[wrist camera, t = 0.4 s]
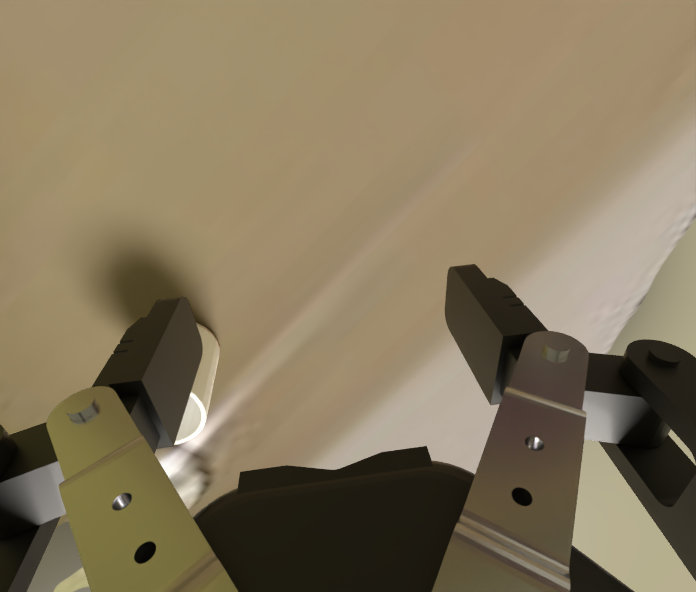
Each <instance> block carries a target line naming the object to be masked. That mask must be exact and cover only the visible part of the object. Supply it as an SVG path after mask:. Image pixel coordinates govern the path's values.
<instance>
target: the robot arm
mask: <svg viewBox="0 0 696 592" xmlns="http://www.w3.org/2000/svg"><path fill="white" fill-rule="evenodd" d="M445 318H446V322H447V326H448V328H449V330H450V332H451V334H452V336H453V337H454V339H455V341H456V343H457V345H458V347H459V348H460V350H461V352H462V354H463V356H464V358H465V359H466V361H467V363H468V365H469V367H470V369H471V370H472V372H473V374H474V376H475V378H476V380H477V381H478V383H479V385H480V387H481V389H482V391H483V392H484V394H485V396H486V398H487V400H488V402H489V403H490V405H496V404H500V405H499V408H498V411H497V414H496V417H495V420H494V423H493V425H492V428H491V431H490V434H489V437H488V440H487V443H486V445H485V448H484V451H483V454H482V457H481V460H480V463H479V465H478V468H477V471H476V474H473V473H471V472H469V471H467V470H465V469H463V468H460V467H457V466H454V465H451V464H448V463H443V462H438V461H431V458H430V455H429V452H428V449H427V446H424V447H417V448H409V449H402V450H395V451H388V452H381V453H379V454H376V455H374V456H371V457H369V458H366V459H363V460H361V461H358V462H356V463H353V464H351V465H348V466H346V467H343V468H341V469H337V470H326V469H316V468H307V467H297V466H280V467H272V468H265V469H258V470H251V471H244V472H240V477H239V484H238V488H237V489H234V490H232V491H230V492H228V493H226V494H224V495H222V496H220V497H219V498H217V499H216V500H214V501H213V502H211V503H209V504H208V505H207V506H206V507H204V508H203V509H202V510H201V511H199V512H198V513H197V514H196V515H195V516H194V517H192V516H191V514H190V512H189V511H188V509H187V508H186V506H185V504H184V503H183V501H182V499H181V498H180V496H179V494H178V493H177V491H176V489H175V488H174V486H173V484H172V483H171V481H170V479H169V478H168V476H167V474H166V473H165V471H164V469H163V468H162V466H161V464H160V463H159V461H158V460H157V458H156V456H155V455H154V454H155V451H156V449H159V448H166V447H174V444H175V441H176V437H177V434H178V431H179V428H180V425H181V422H182V419H183V415H184V412H185V409H186V406H187V403H188V400H189V396H190V393H191V390H192V387H193V384H194V381H195V378H196V374H197V371H198V368H199V365H200V362H201V359H202V353H203V346H202V340H201V336H200V333H199V330H198V327H197V324H196V321H195V319H194V316H193V313H192V310H191V307H190V304H189V302H188V300H187V298H186V297H175V298H167V299H159V300H157V301H156V302H155V304H154V306H153V308H152V309H151V311H150V313H149V315H148V316H147V317H145V318H140V319H139V320H138V321H137V322H136V323H134V324H133V325H132V326H131V327H130V328H128V329H127V331H126V332H125V334H124V336H123V337H122V339H121V340H120V344H118V345H117V347H116V349H115V350H114V354H112V355H111V357H110V358H109V360H108V361H107V363H106V365H105V366H104V368H103V370H102V371H101V373H100V374H99V376H98V378H97V379H96V381H95V382H94V384H93V386H92V387H91V388H87V389H84V390H81V391H79V392H77V393H75V394H73V395H71V396H69V397H68V398H66V399H65V400H63V401H62V402H61V403H60V404H58V405H57V406H56V407H55V408H54V410H53V411H52V412H51V413H50V415H49V417H48V419H47V422H46V423H43V424H40V425H37V426H34V427H31V428H28V429H26V430H23V431H20V432H17V433H14V434H11V435H9V434H8V433H7V432H6V431H5V429H4V428H3V427H2V426H1V425H0V592H27V589H28V587H29V585H30V583H31V581H32V578H33V576H34V574H35V572H36V570H37V567H38V565H39V563H40V561H41V559H42V556H43V554H44V552H45V550H46V548H47V545H48V543H49V541H50V539H51V537H52V534H53V532H54V530H55V528H56V526H57V523H58V521H59V519H60V517H61V516H62V515H64V514H67V517H68V520H69V524H70V526H71V530H72V533H73V536H74V539H75V543H76V545H77V549H78V552H79V555H80V558H81V561H82V565H83V568H84V571H85V574H86V577H87V580H88V584H89V587H90V590H91V592H634V591H633V590H631V589H630V588H629V587H627V586H626V585H625V584H623V583H622V582H621V581H619V580H618V579H617V578H615V577H614V576H613V575H611V574H610V573H609V572H607V571H606V570H604V569H603V568H602V567H601V566H599V565H598V564H596V563H595V562H594V561H592V560H591V559H590V558H588V557H587V556H586V555H584V554H583V553H582V552H580V551H579V550H578V549H576V548H575V547H574V546H572V538H573V529H574V520H575V511H576V504H577V495H578V486H579V478H580V469H581V461H582V452H583V444H584V439H587V440H594V441H599V443H600V444H601V446H602V447H603V448H604V450H605V451H606V453H607V454H608V456H609V457H610V458H611V460H612V461H613V463H614V464H615V466H616V467H617V469H618V470H619V471H620V473H621V474H622V476H623V477H624V479H625V480H626V482H627V483H628V484H629V486H630V487H631V489H632V490H633V492H634V493H635V494H636V496H637V497H638V499H639V500H640V502H641V503H642V504H643V506H644V507H645V509H646V510H647V512H648V513H649V515H650V516H651V517H652V519H653V520H654V522H655V523H656V525H657V526H658V527H659V529H660V530H661V532H662V533H663V535H664V536H665V537H666V539H667V540H668V542H669V543H670V545H671V546H672V548H673V549H674V550H675V552H676V553H677V555H678V556H679V558H680V559H681V560H682V562H683V563H684V565H685V566H686V568H687V569H688V571H689V572H690V573H691V575H692V576H693V578H694V579H695V580H696V466H695V465H694V463H693V462H692V461H691V460H690V459H689V458H688V457H687V456H686V454H685V453H684V452H683V451H682V450H681V449H680V448H679V447H678V445H677V444H676V443H675V442H674V441H673V440H672V439H671V438H670V436H669V435H668V433H669V431H670V430H671V429H672V430H673V431H674V432H675V434H676V435H677V436H678V437H679V438H680V439H681V440H682V441H683V442H684V443H685V445H686V446H687V447H688V448H689V449H690V451H691V452H692V454H693V456H694V459H695V461H696V358H695V357H694V356H693V355H691V354H690V353H688V352H687V351H685V350H683V349H681V348H679V347H677V346H675V345H672V344H669V343H666V342H662V341H657V340H637V341H634V342H632V343H630V344H629V345H628V347H627V349H626V351H625V354H624V356H616V355H606V354H595V353H588V351H587V349H586V347H585V346H584V345H583V344H582V343H580V342H579V341H578V340H576V339H575V338H573V337H571V336H568V335H566V334H562V333H559V332H553V331H548V330H547V329H546V328H545V327H544V325H543V324H542V323H541V322H540V321H539V320H538V319H537V318H536V317H535V315H534V314H533V313H532V312H531V311H530V310H529V309H528V308H527V307H526V305H525V306H524V303H523V302H522V301H521V300H520V299H519V298H518V297H516V294H515V293H514V292H513V291H512V290H511V289H510V288H509V287H508V285H506V284H504V283H502V282H500V281H498V280H497V279H495V278H487V277H486V276H485V275H484V274H483V273H482V271H481V270H480V269H479V268H478V267H477V266H476V265H475V264H471V265H462V266H454V267H450V268H449V270H448V276H447V289H446V301H445Z"/></svg>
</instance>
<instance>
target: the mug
mask: <svg viewBox="0 0 696 592" xmlns="http://www.w3.org/2000/svg"><path fill="white" fill-rule="evenodd" d="M196 324H197V327H198V330H199V333H200V336H201V340H202V346H203V353H202V359H201V362H200V365H199V368H198V371H197V374H196V378H195V381H194V384H193V387H192V390H191V393H190V396H189V400H188V403H187V406H186V409H185V412H184V415H183V419H182V422H181V425H180V428H179V431H178V434H177V437H176V441H175V444H180V443H183V442H185V441H188V440H190V439H192V438H193V437H195V436H196V435H198V433H199V432H200V431H201V430H202V429H203V427H204V424H205V422H206V419H207V414H208V409H209V404H210V399H211V394H212V389H213V384H214V379H215V374H216V369H217V364H218V359H219V354H220V347H219V344H218V341H217V339H216V338H215V336H214V335H213V334H212V332H211V331H209V330H208V329H207V328H206V327H204V326H202V325H200V324H198V323H196ZM175 444H174V445H175Z"/></svg>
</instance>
